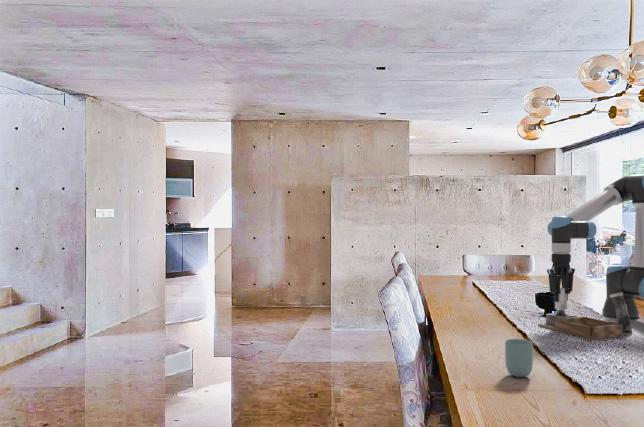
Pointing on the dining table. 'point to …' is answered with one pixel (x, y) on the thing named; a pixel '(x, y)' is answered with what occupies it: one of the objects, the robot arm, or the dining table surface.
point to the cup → (519, 357)
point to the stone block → (621, 310)
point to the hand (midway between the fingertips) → (561, 309)
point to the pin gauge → (562, 303)
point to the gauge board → (583, 326)
